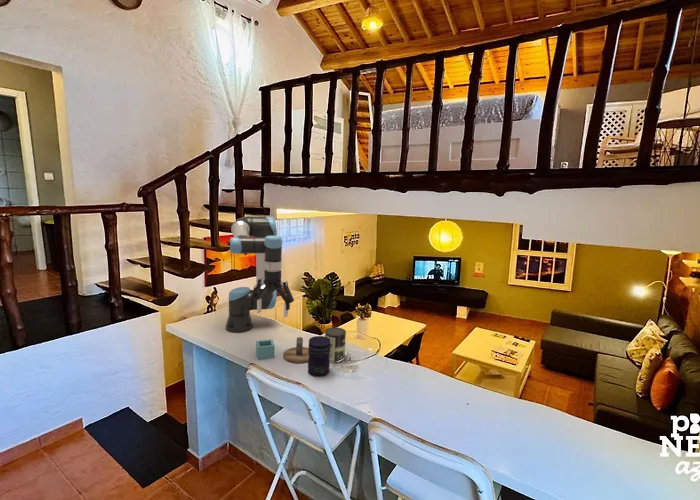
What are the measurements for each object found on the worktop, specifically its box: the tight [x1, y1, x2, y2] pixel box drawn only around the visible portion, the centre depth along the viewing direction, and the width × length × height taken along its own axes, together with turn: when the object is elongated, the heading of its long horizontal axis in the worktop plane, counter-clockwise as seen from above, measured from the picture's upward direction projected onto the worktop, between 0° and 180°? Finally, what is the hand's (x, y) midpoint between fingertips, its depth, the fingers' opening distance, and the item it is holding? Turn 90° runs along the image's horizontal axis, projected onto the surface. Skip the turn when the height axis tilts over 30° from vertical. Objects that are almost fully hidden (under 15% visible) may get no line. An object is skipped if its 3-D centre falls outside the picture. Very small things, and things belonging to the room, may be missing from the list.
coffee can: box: [324, 327, 347, 364], centre depth 173 cm, size 10×10×14 cm
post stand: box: [282, 336, 309, 364], centre depth 175 cm, size 16×16×9 cm
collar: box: [255, 339, 276, 360], centre depth 174 cm, size 8×8×6 cm
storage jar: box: [307, 335, 330, 378], centre depth 160 cm, size 10×10×15 cm
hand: (272, 314), depth 164 cm, fingers open, 13 cm apart
